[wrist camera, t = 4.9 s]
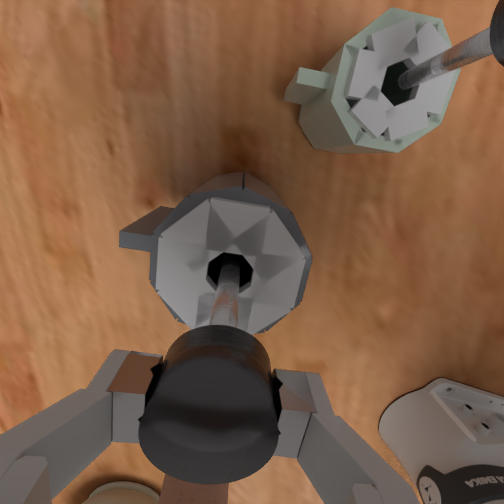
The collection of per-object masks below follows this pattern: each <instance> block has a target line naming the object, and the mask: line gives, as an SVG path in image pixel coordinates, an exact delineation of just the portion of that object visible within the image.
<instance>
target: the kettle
mask: <svg viewBox="0 0 504 504" xmlns="http://www.w3.org/2000/svg"><path fill="white" fill-rule="evenodd" d="M159 498H160V496H159V495H158V494H157V493H156V492H155V491H154V490H152V489H151V488H149V487H147V486H145V485H142V484H139V483H135V482H129V481H116V482H111V483H107V484H104V485H102V486H100V487H98V488H97V489H95V490H94V491H93V492H92V493H91V494H90V496H89V498H88V499H87V500H86V501H84V502H83V503H81V504H158V502H159Z"/></svg>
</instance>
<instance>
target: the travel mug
mask: <svg viewBox="0 0 504 504" xmlns="http://www.w3.org/2000/svg"><path fill="white" fill-rule="evenodd" d="M228 484H229V483H224V484H212V485H208V484H196V483H190V482H186V481H182V480H179V479H176V478H174V477H172V476H169V475H168V474H166V473H165V477H164V482H163V486H162V490H161V494H160V498H159V502H158V504H227V501H228Z"/></svg>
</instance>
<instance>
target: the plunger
mask: <svg viewBox="0 0 504 504" xmlns="http://www.w3.org/2000/svg"><path fill="white" fill-rule="evenodd" d="M239 277H240V255H239V254H233V253H225V254H224V257H223V262H222V266H221V271H220V276H219V281H218V285H217V290H216V295H215V300H214V304H213V309H212V314H211V319H210V323H209V325H206V326H201V327H198V328H195V329H192V330H190V331H188V332H186V333H184V334H183V335H181V336H180V337H179V338H178V339H177V340H176V341H175V342H174V343H173V344H172V345H171V347H170V348H169V350H168V352H167V354H166V357H165V359H164V362H163V364H162V367H161V370H160V372H159V375H158V377H157V380H156V382H155V385H154V387H153V390H152V392H151V395H150V397H149V400H148V403H147V405H146V408H145V410H144V413H143V415H142V418H141V421H140V424H139V429H138V438H139V443H140V446H141V448H142V451H143V452H144V454H145V456H146V457H147V458H148V460H149V461H150V462H151V463H152V464H153V465H154V466H155V467H157V468H158V469H159V470H161V471H162V472H164V473H166V474H168V475H169V476H172V477H174V478H176V479H179V480H182V481H186V482H190V483H196V484H208V485H212V484H224V483H229V482H234V481H237V480H240V479H243V478H245V477H248V476H250V475H252V474H253V473H255V472H257V471H258V470H259V469H261V468H262V467H263V466H264V465H265V464H266V463H267V462H268V461H269V460H270V459H271V457H272V456H273V454H274V452H275V450H276V447H277V445H278V439H279V431H278V423H277V414H276V406H275V398H274V390H273V382H272V374H271V366H270V359H269V356H268V354H267V352H266V350H265V348H264V347H263V345H262V344H261V343H260V342H259V341H258V340H257V339H256V338H255V337H253V336H252V335H251V334H249V333H247V332H246V331H243V330H241V329H239V328H237V323H238V300H239Z"/></svg>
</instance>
